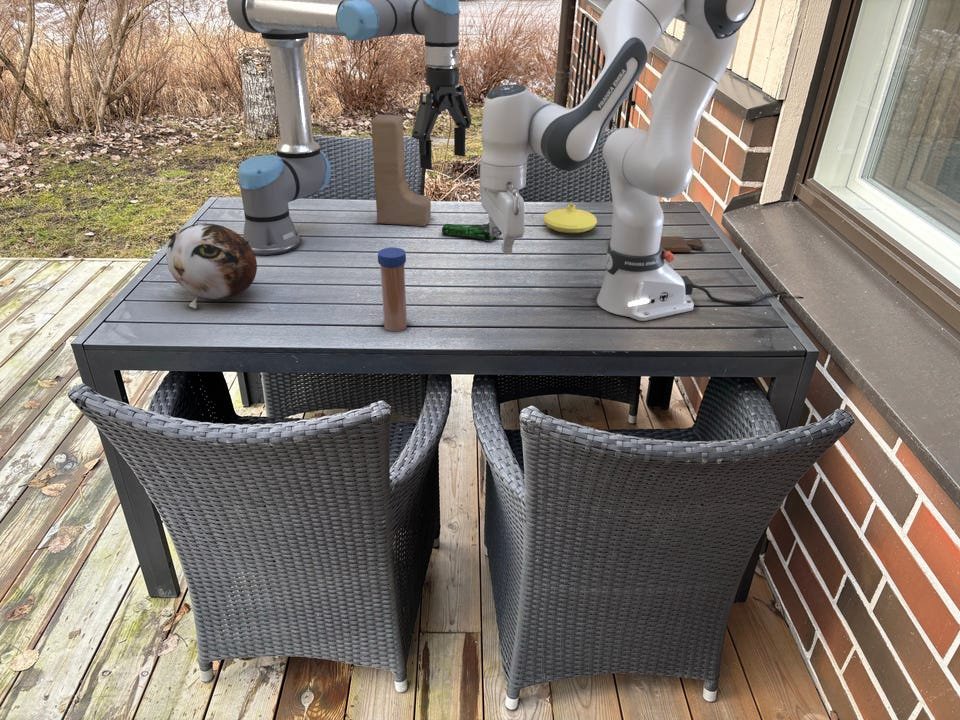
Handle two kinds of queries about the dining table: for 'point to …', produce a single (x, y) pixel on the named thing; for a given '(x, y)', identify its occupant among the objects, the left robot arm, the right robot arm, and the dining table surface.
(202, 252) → the brown and white balloon
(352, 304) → the dining table surface
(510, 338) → the dining table surface
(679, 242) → the wooden paddle board
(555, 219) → the yellow knobbed disc
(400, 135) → the decorative block
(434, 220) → the dining table surface
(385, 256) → the lid
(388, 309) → the jar
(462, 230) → the handgun
